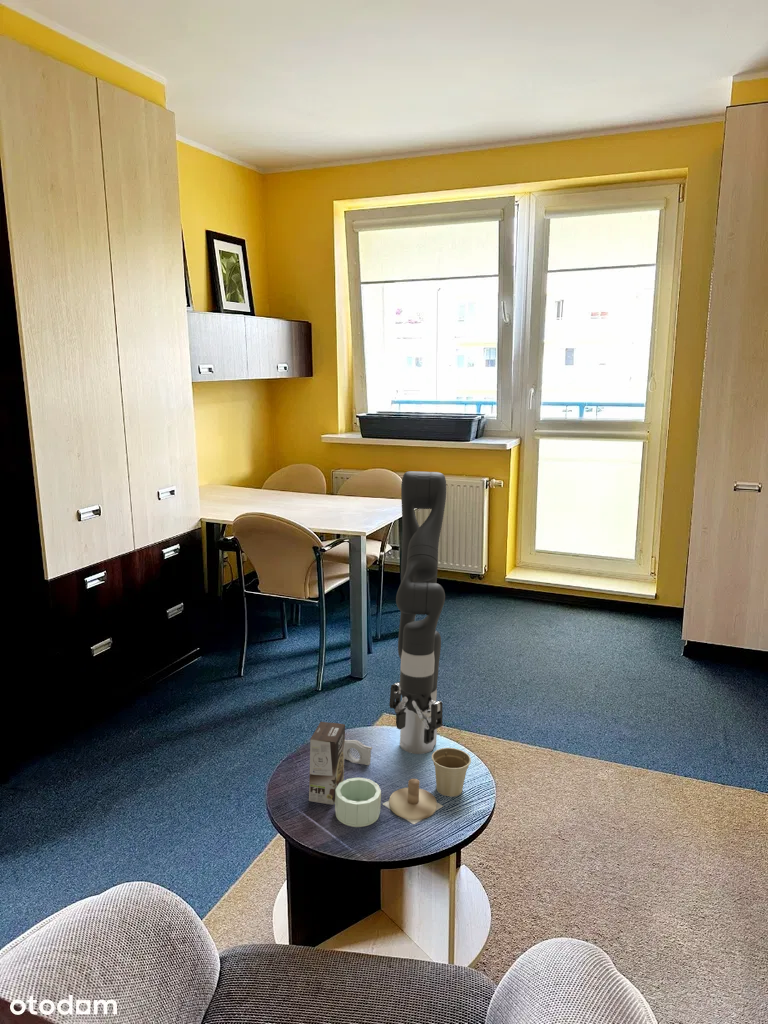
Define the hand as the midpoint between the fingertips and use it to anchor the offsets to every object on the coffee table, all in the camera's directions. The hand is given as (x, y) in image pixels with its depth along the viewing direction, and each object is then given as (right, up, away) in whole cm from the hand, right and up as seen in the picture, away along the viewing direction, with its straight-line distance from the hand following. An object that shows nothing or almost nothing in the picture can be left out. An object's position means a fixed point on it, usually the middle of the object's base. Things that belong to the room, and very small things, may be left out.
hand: (414, 735), depth 158 cm
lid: (0, -17, +4) cm, 18 cm away
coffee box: (-21, -17, +8) cm, 27 cm away
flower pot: (+9, -17, +11) cm, 22 cm away
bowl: (-13, -18, 0) cm, 22 cm away
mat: (0, -18, +4) cm, 18 cm away
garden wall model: (-16, -14, +22) cm, 31 cm away
